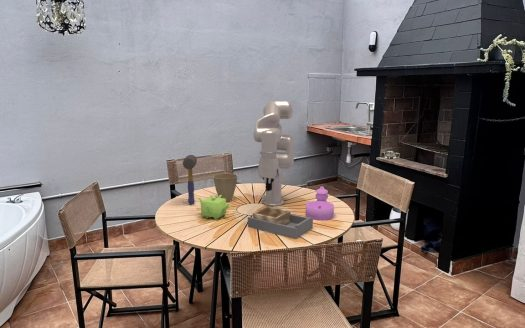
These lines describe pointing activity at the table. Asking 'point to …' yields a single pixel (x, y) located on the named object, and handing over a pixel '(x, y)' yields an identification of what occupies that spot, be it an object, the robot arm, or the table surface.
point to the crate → (273, 215)
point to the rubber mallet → (190, 176)
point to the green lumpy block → (213, 207)
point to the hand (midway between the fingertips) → (268, 190)
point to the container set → (320, 206)
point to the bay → (284, 226)
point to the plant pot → (225, 185)
